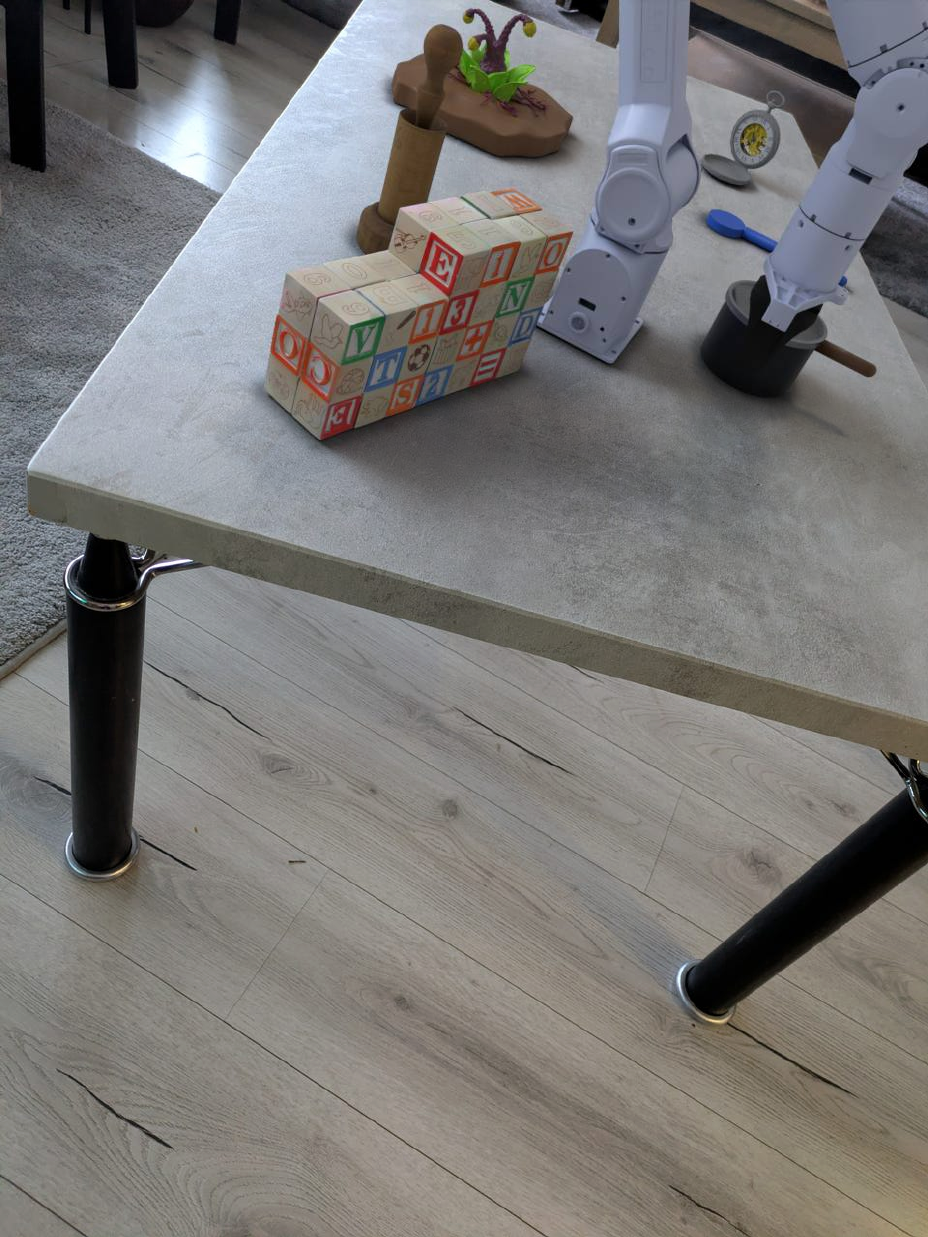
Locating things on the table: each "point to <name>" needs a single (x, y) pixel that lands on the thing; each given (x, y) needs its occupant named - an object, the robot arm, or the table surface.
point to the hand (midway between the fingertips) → (746, 368)
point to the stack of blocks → (415, 311)
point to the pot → (784, 365)
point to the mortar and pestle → (413, 144)
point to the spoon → (742, 231)
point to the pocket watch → (756, 130)
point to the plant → (491, 96)
